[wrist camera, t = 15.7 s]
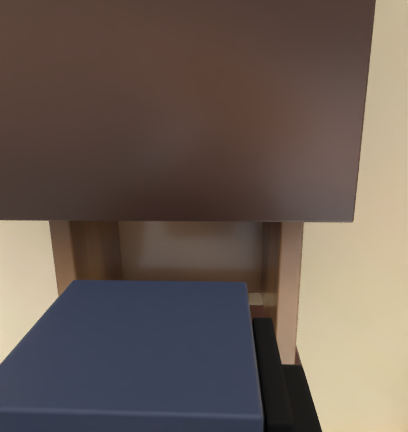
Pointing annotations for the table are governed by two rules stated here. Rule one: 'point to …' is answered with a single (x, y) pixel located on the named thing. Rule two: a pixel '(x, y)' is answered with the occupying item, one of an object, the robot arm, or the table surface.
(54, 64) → the cabinet
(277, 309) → the drawer
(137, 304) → the block
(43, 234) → the table surface
